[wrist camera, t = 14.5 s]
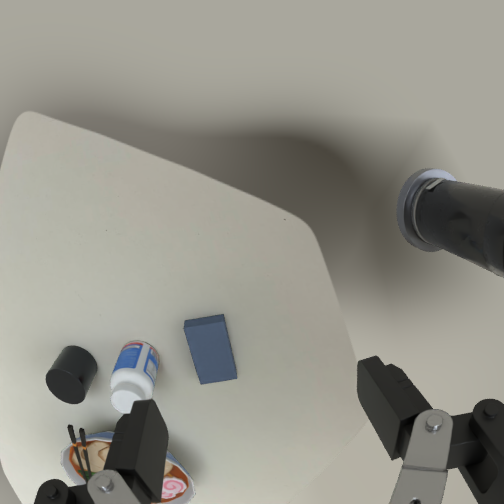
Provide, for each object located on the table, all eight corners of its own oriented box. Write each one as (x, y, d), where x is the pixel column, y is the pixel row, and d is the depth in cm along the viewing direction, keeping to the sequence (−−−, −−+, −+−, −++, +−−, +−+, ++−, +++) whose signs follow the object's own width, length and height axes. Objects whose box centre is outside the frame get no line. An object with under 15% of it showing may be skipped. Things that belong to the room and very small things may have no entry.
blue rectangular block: (184, 320, 40) (183, 328, 38) (223, 313, 40) (224, 321, 38) (200, 375, 42) (200, 384, 40) (236, 370, 42) (237, 378, 41)
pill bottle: (116, 361, 40) (98, 407, 31) (128, 333, 39) (109, 377, 30) (152, 377, 41) (141, 425, 32) (165, 350, 40) (156, 397, 31)
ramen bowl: (188, 494, 50) (188, 525, 42) (79, 471, 46) (70, 500, 39) (205, 417, 44) (206, 456, 37) (64, 386, 41) (46, 419, 33)
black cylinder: (97, 351, 39) (83, 376, 34) (98, 383, 41) (86, 409, 35) (59, 341, 38) (43, 363, 33) (62, 373, 40) (48, 397, 34)
